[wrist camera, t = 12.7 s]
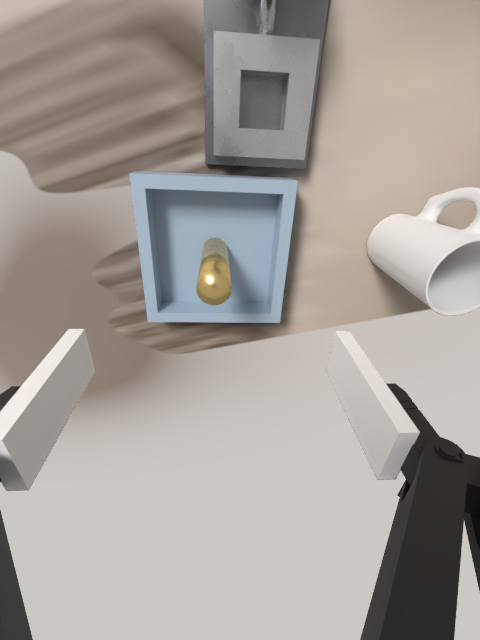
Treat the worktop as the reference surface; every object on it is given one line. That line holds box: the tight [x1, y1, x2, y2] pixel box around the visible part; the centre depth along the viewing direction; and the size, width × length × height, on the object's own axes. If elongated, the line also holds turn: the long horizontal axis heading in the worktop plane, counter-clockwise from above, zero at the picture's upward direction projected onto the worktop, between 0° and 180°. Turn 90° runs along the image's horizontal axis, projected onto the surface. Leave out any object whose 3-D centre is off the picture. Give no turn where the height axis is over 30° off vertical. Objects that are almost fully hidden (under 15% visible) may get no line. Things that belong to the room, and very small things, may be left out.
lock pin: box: [196, 238, 232, 305], centre depth 28 cm, size 3×3×11 cm
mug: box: [367, 187, 480, 316], centre depth 29 cm, size 10×7×12 cm, turn 163°
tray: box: [130, 171, 298, 323], centre depth 32 cm, size 15×15×4 cm
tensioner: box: [204, 0, 329, 169], centre depth 22 cm, size 17×10×8 cm, turn 177°
